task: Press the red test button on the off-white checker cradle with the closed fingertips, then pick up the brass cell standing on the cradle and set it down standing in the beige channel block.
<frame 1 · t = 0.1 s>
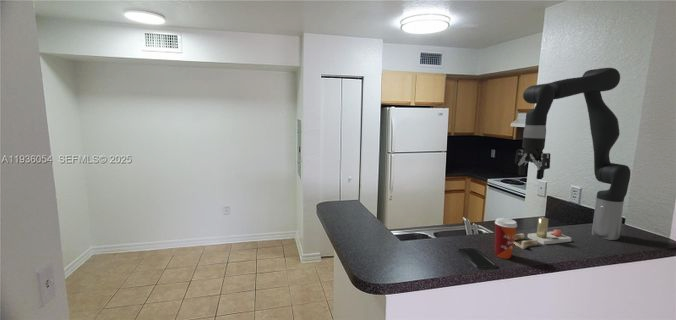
hand: (530, 177, 125), 29 cm above the countertop, tool pointing down, fingers open, 8 cm apart
checker cradle: (548, 241, 134), on the countertop
cell: (541, 236, 133), point 2 cm above the countertop, touching checker cradle
paper cup: (503, 255, 120), on the countertop
test button: (557, 234, 135), point 3 cm above the countertop, slide at 0.0 cm
phone: (476, 260, 117), on the countertop
beige channel block: (522, 244, 131), on the countertop
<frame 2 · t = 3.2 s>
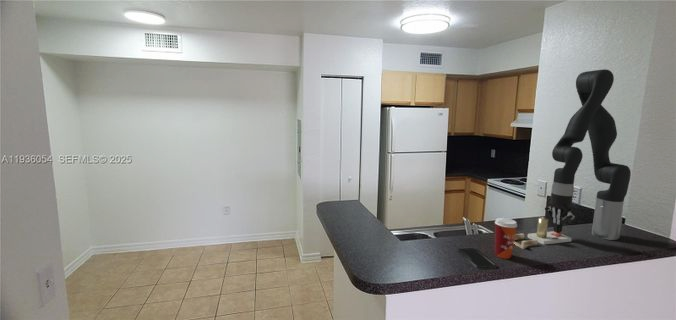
hand: (557, 231, 135), 4 cm above the countertop, tool pointing down, fingers closed
test button: (557, 235, 135), point 2 cm above the countertop, slide at -0.6 cm, touching gripper
everything else where it was.
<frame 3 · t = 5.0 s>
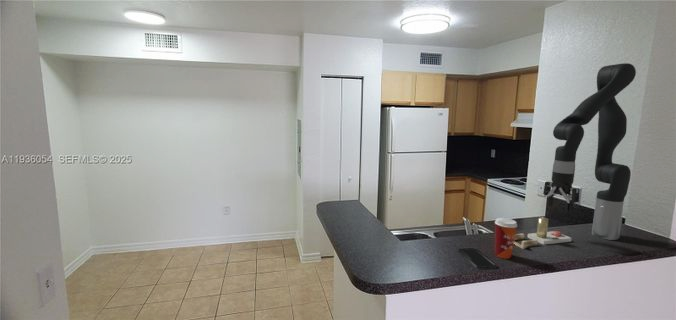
hand: (558, 208, 133), 14 cm above the countertop, tool pointing down, fingers open, 8 cm apart
test button: (557, 235, 135), point 2 cm above the countertop, slide at -0.7 cm
everything else where it was.
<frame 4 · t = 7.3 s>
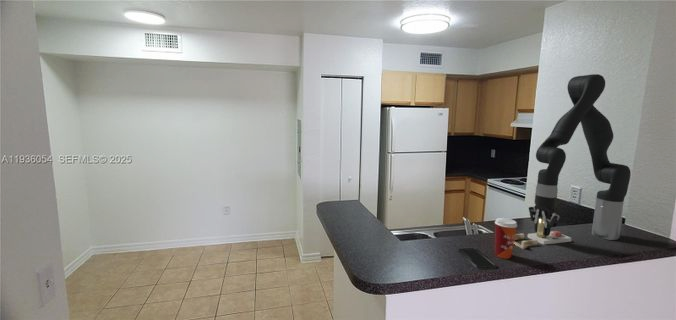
hand: (541, 233, 133), 4 cm above the countertop, tool pointing down, fingers closed on cell, 3 cm apart
cell: (541, 236, 133), point 2 cm above the countertop, touching checker cradle, gripper
everything else where it was.
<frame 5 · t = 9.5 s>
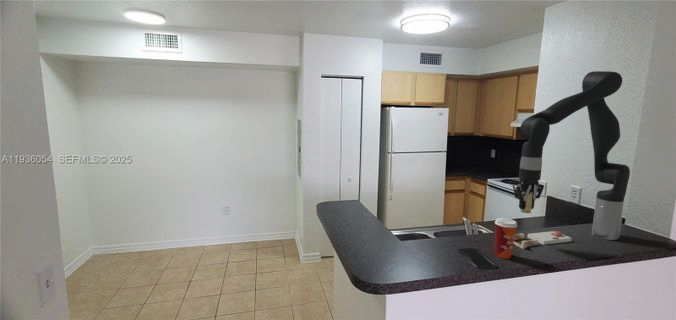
hand: (526, 208, 129), 16 cm above the countertop, tool pointing down, fingers closed on cell, 3 cm apart
cell: (525, 211, 129), point 14 cm above the countertop, touching gripper
everything else where it was.
when the fingers open (3 cm above the countertop, at t = 11.9 s): cell drops 1 cm, resting on beige channel block.
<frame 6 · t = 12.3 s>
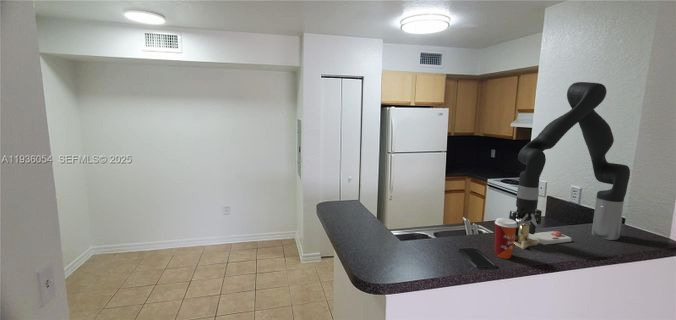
hand: (523, 234, 130), 4 cm above the countertop, tool pointing down, fingers open, 8 cm apart
cell: (522, 242, 131), point 1 cm above the countertop, touching beige channel block
everything else where it was.
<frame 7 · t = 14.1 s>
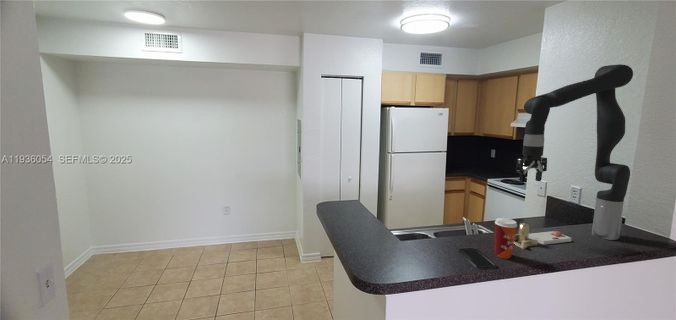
hand: (530, 181, 136), 25 cm above the countertop, tool pointing down, fingers open, 8 cm apart
nothing on the countertop moved.
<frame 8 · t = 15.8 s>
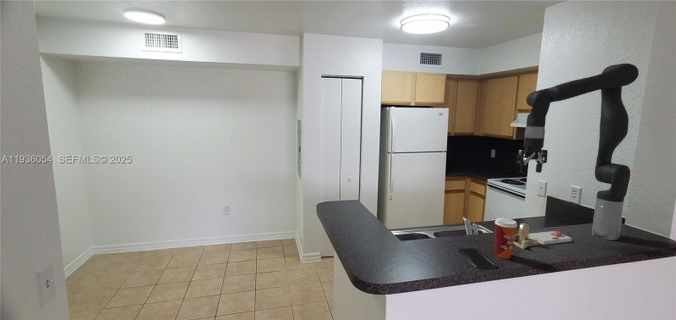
hand: (530, 172, 140), 28 cm above the countertop, tool pointing down, fingers open, 8 cm apart
nothing on the countertop moved.
at the end: cell 0.1 cm off-centre on the beige channel block, point 0.6 cm above the beige channel block's base; cell tilted 1°; the gripper is holding nothing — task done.
